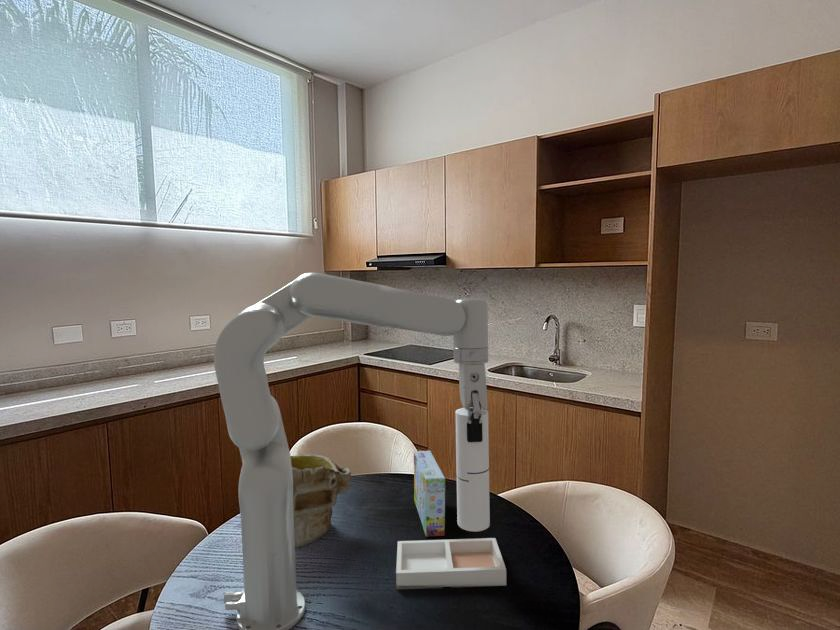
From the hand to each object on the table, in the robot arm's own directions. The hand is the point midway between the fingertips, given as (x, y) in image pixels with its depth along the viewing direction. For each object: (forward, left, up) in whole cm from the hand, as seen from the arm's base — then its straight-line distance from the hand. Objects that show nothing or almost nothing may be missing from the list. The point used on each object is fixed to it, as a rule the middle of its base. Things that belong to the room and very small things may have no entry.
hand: (472, 435), depth 98 cm
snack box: (-9, +24, -31) cm, 40 cm away
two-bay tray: (-6, 0, -30) cm, 31 cm away
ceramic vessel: (-41, +18, -30) cm, 54 cm away
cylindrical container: (0, 0, -20) cm, 20 cm away
